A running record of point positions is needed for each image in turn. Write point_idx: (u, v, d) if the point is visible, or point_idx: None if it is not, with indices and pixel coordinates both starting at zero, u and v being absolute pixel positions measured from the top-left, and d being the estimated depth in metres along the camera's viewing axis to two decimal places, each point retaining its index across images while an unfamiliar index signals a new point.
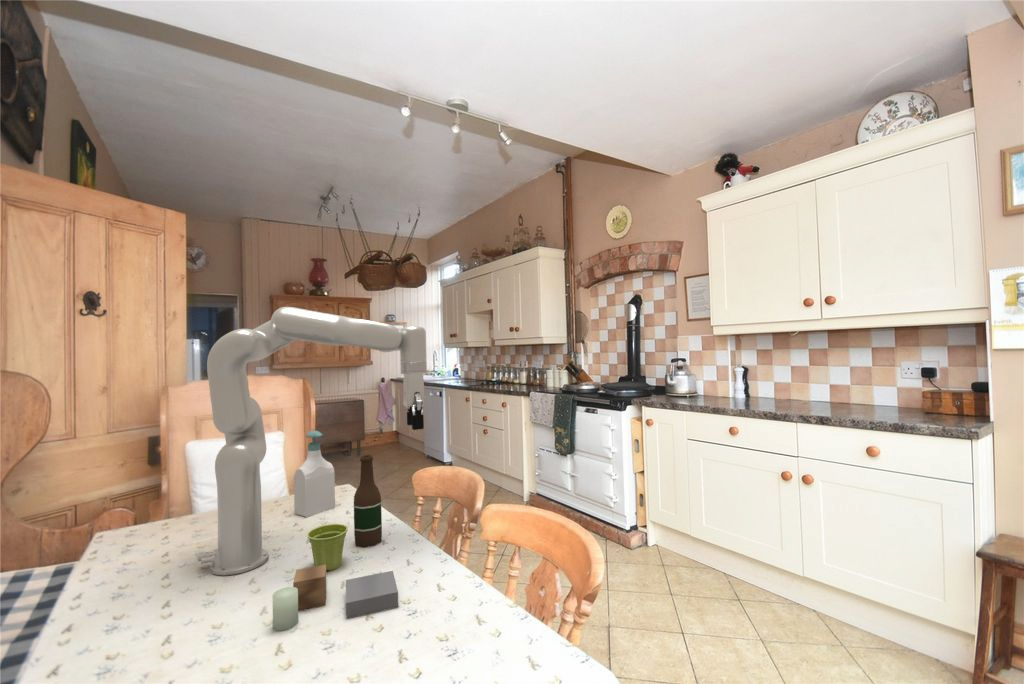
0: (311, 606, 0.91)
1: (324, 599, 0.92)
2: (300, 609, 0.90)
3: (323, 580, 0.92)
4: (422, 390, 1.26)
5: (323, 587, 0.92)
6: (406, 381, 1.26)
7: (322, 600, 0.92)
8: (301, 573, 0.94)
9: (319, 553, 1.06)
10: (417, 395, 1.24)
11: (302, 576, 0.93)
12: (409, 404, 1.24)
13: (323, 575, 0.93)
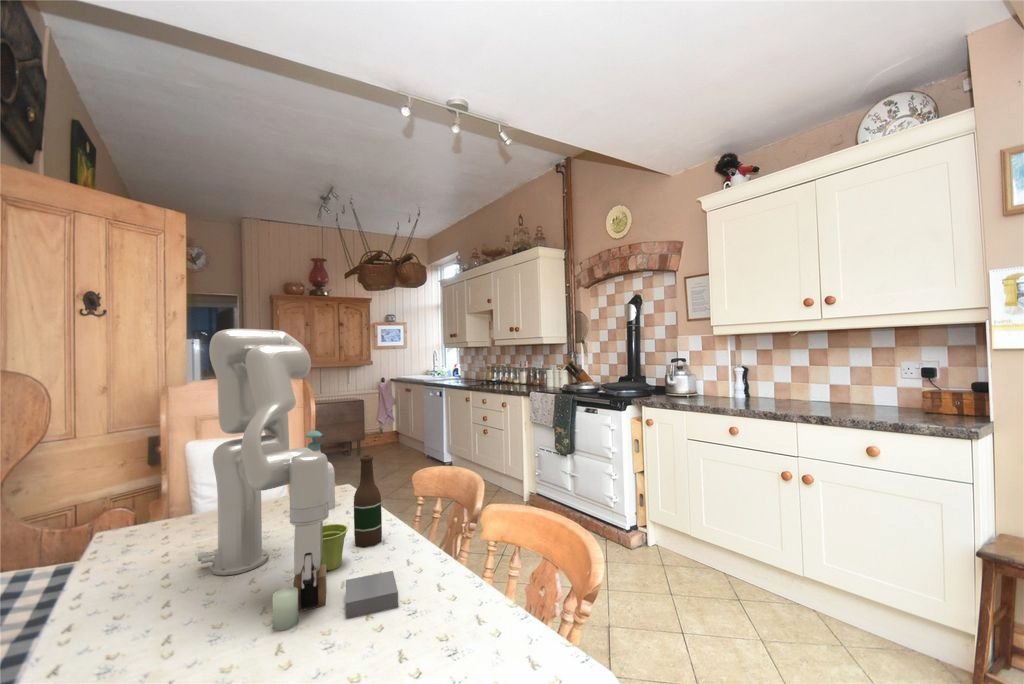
0: None
1: (324, 599, 0.92)
2: (300, 609, 0.90)
3: (323, 580, 0.92)
4: (316, 549, 0.90)
5: (323, 587, 0.92)
6: None
7: (322, 599, 0.92)
8: (301, 573, 0.94)
9: None
10: (308, 562, 0.89)
11: None
12: (296, 571, 0.89)
13: (323, 575, 0.93)
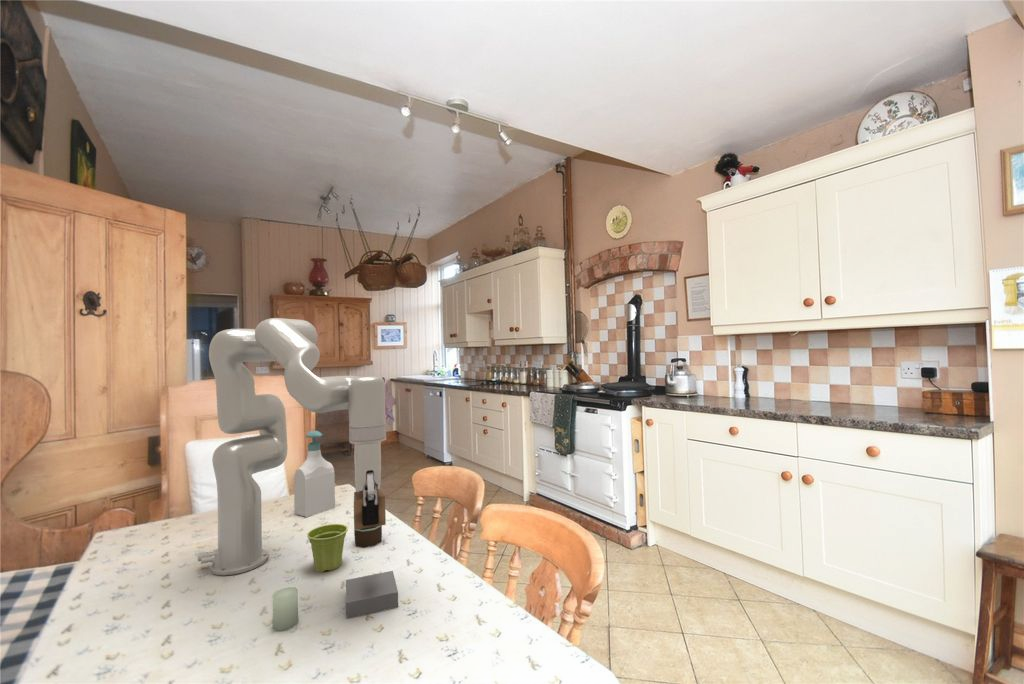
0: (371, 525, 0.91)
1: (384, 518, 0.92)
2: (361, 527, 0.91)
3: (383, 499, 0.92)
4: (377, 467, 0.90)
5: (383, 506, 0.92)
6: (355, 454, 0.91)
7: (382, 519, 0.92)
8: (360, 494, 0.94)
9: (319, 553, 1.06)
10: (370, 479, 0.89)
11: (362, 496, 0.93)
12: (358, 488, 0.89)
13: (383, 495, 0.93)
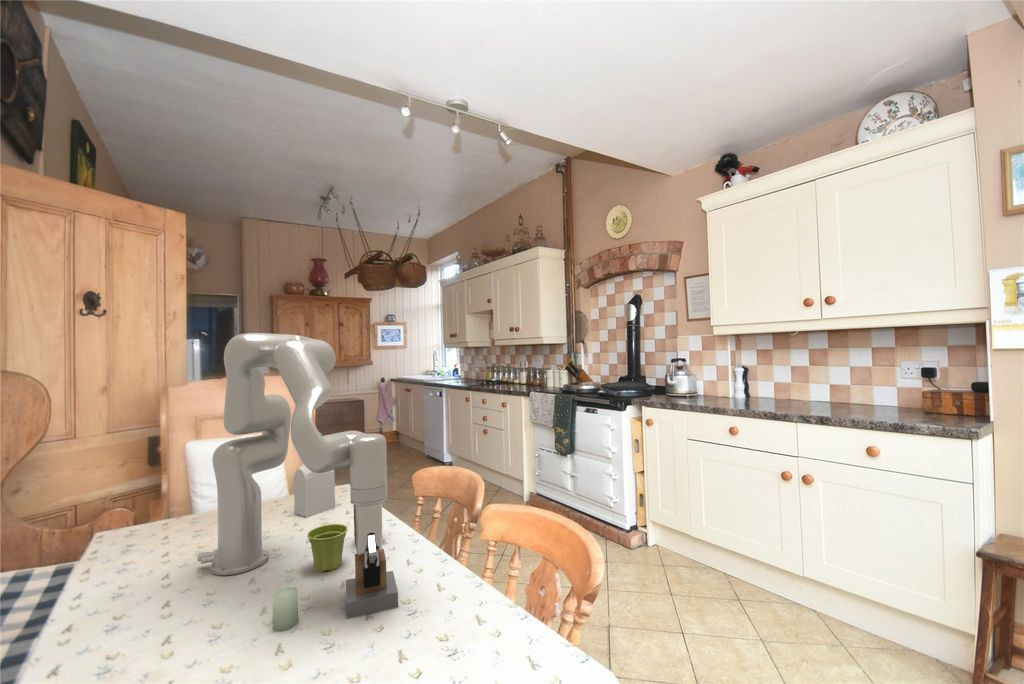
0: (372, 590, 0.91)
1: (385, 583, 0.92)
2: (362, 592, 0.90)
3: (384, 564, 0.92)
4: (379, 529, 0.90)
5: (384, 571, 0.92)
6: (357, 516, 0.90)
7: (383, 583, 0.92)
8: (361, 557, 0.94)
9: (319, 553, 1.06)
10: (371, 540, 0.88)
11: (363, 560, 0.92)
12: (360, 551, 0.88)
13: (384, 559, 0.92)
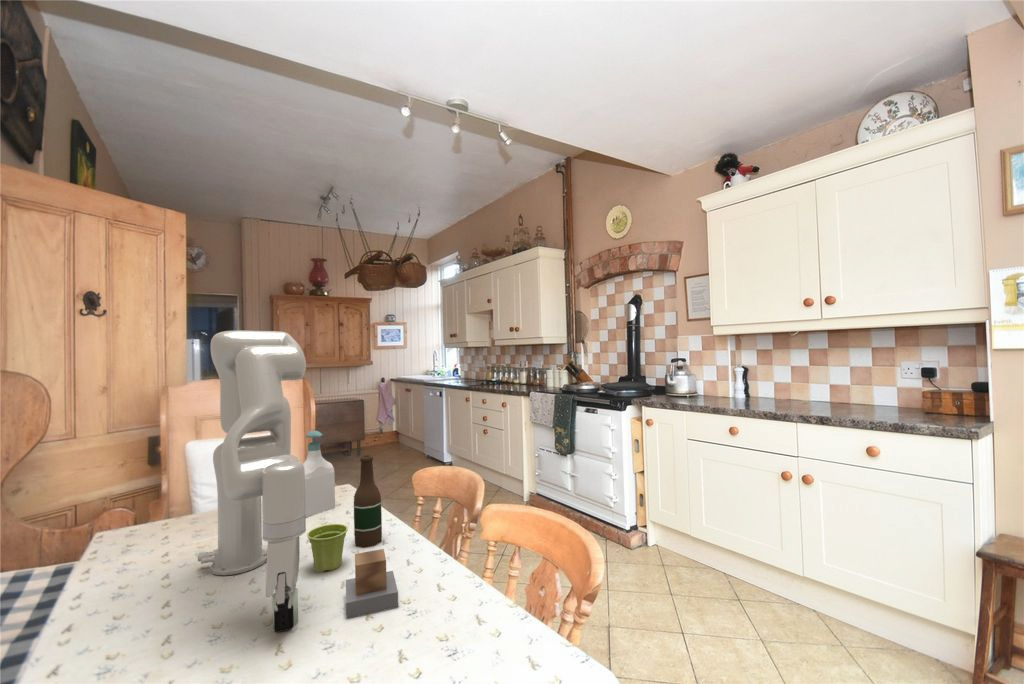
0: (372, 590, 0.91)
1: (385, 583, 0.92)
2: (362, 592, 0.90)
3: (384, 564, 0.92)
4: (291, 568, 0.82)
5: (384, 571, 0.92)
6: None
7: (383, 583, 0.92)
8: (361, 557, 0.94)
9: (319, 553, 1.06)
10: (281, 584, 0.81)
11: (363, 560, 0.92)
12: (268, 593, 0.81)
13: (384, 559, 0.92)
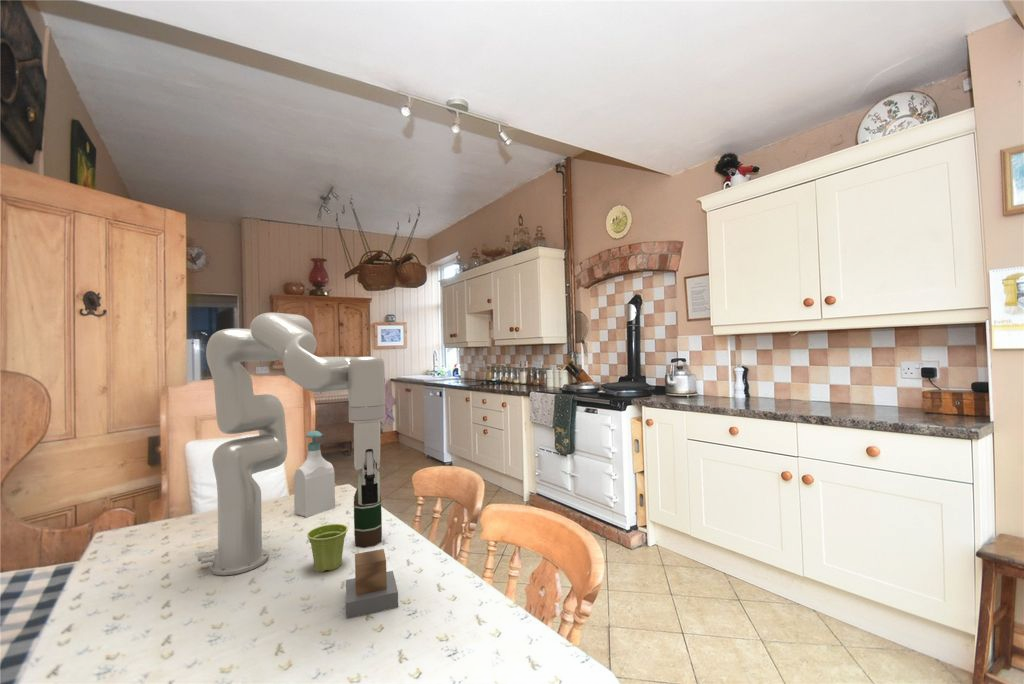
0: (372, 590, 0.91)
1: (385, 583, 0.92)
2: (362, 592, 0.90)
3: (384, 564, 0.92)
4: (377, 446, 0.91)
5: (384, 571, 0.92)
6: (355, 433, 0.91)
7: (383, 583, 0.92)
8: (361, 557, 0.94)
9: (319, 553, 1.06)
10: (369, 459, 0.89)
11: (363, 560, 0.92)
12: (358, 466, 0.89)
13: (384, 559, 0.92)
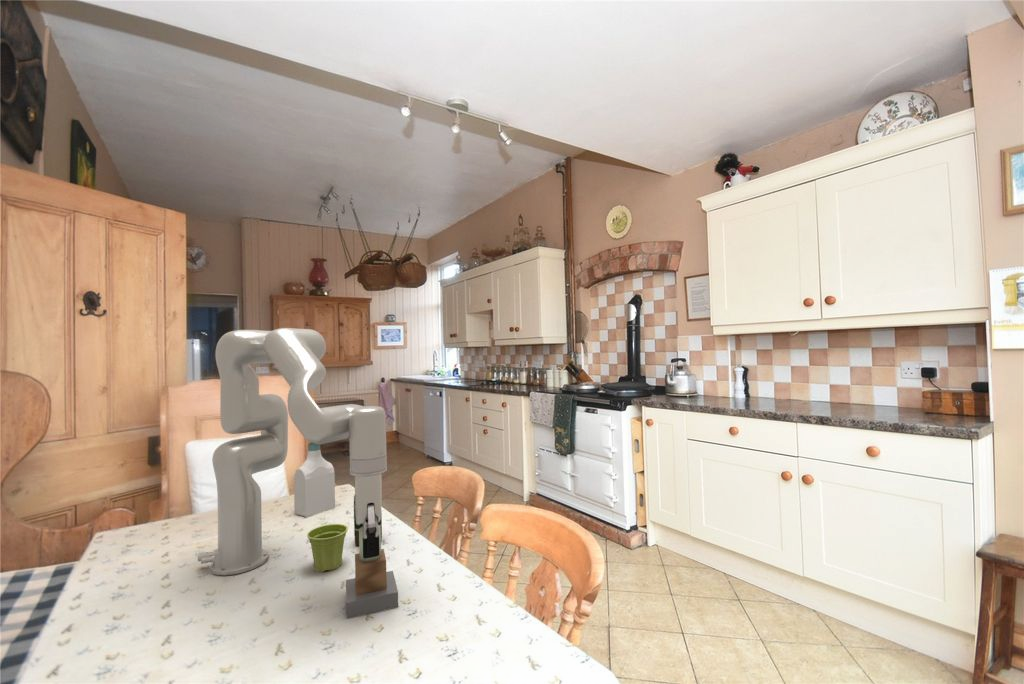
0: (372, 590, 0.91)
1: (385, 583, 0.92)
2: (362, 592, 0.90)
3: (384, 564, 0.92)
4: (378, 499, 0.90)
5: (384, 571, 0.92)
6: (356, 486, 0.90)
7: (383, 583, 0.92)
8: None
9: (319, 553, 1.06)
10: (370, 511, 0.89)
11: None
12: (359, 521, 0.89)
13: (384, 559, 0.92)
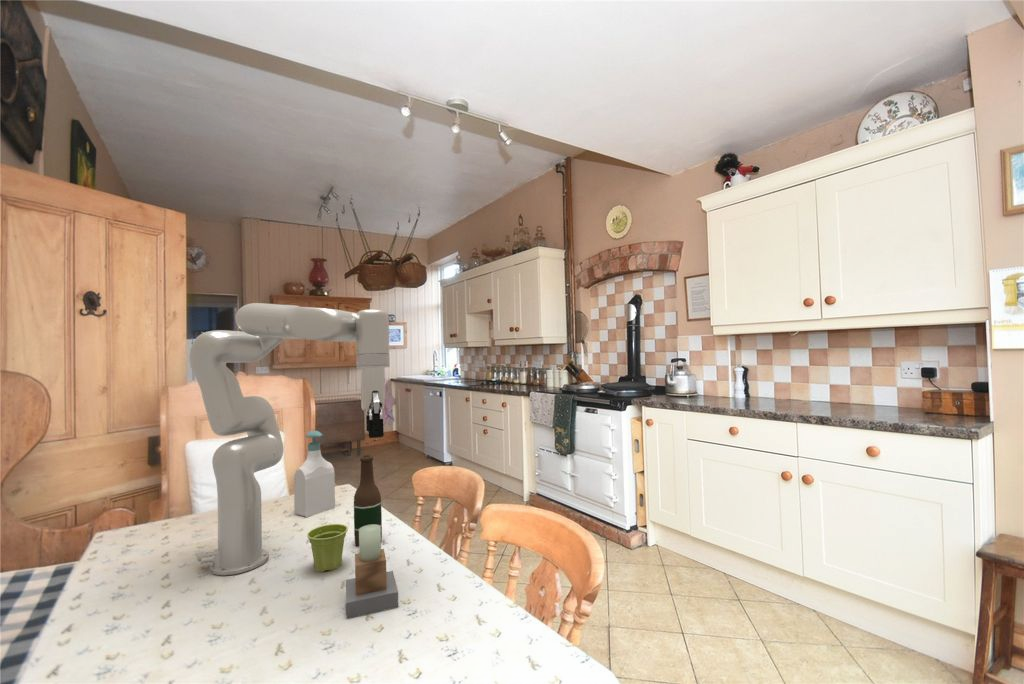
0: (372, 590, 0.91)
1: (385, 583, 0.92)
2: (362, 592, 0.90)
3: (384, 564, 0.92)
4: (382, 388, 1.01)
5: (384, 571, 0.92)
6: (362, 377, 1.01)
7: (383, 583, 0.92)
8: None
9: (319, 553, 1.06)
10: (375, 394, 0.99)
11: None
12: (365, 406, 0.99)
13: (384, 559, 0.92)
